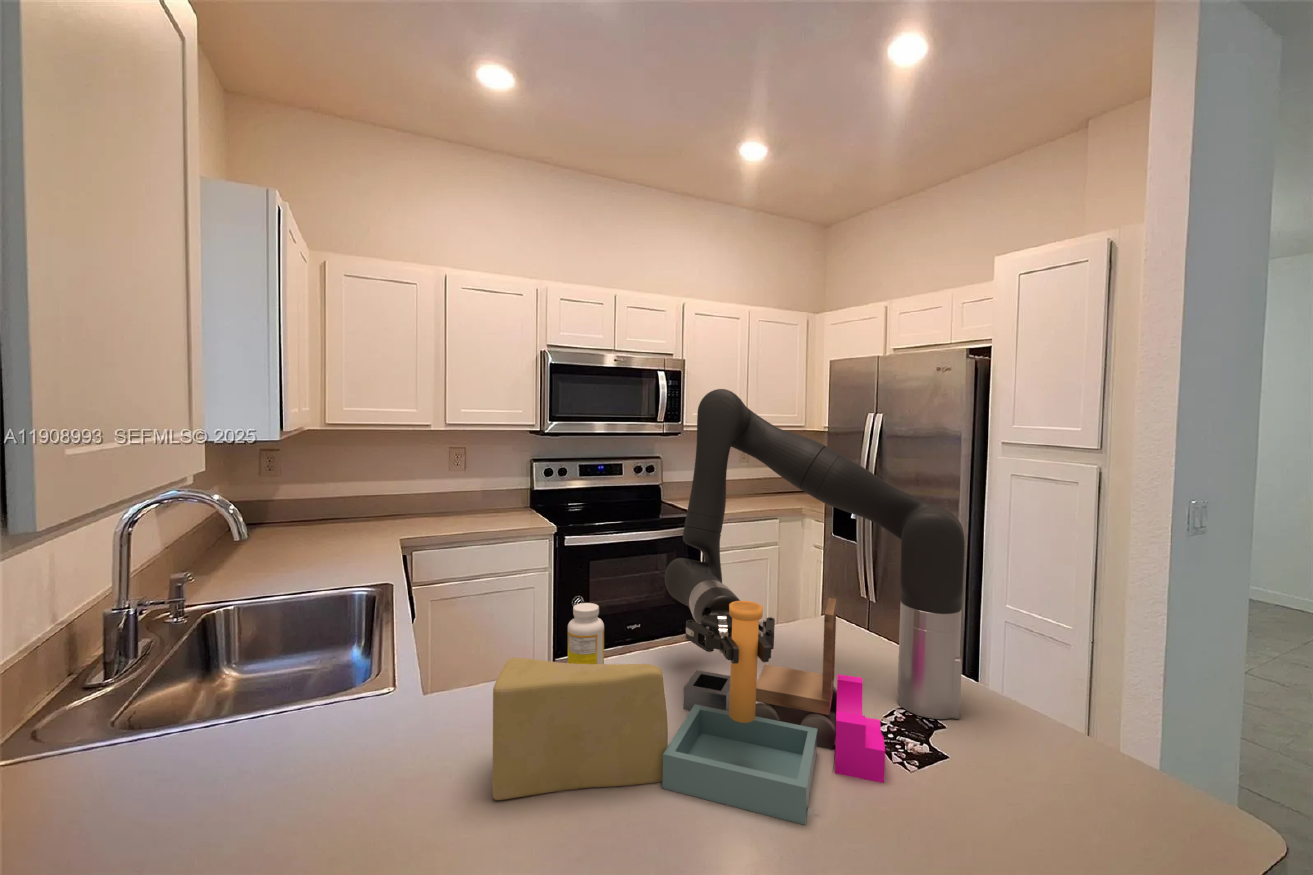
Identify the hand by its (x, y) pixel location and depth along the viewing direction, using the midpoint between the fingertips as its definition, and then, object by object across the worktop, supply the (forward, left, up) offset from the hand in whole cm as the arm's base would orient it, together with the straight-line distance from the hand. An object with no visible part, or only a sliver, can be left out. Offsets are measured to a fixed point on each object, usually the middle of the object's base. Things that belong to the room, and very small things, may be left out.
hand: (751, 655), depth 75 cm
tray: (+1, -2, -17) cm, 17 cm away
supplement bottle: (+34, -20, -18) cm, 44 cm away
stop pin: (+2, -2, -9) cm, 10 cm away
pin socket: (+10, -17, -17) cm, 26 cm away
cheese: (+21, +7, -18) cm, 28 cm away
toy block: (-13, -15, -18) cm, 27 cm away
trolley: (-4, -17, -17) cm, 25 cm away
